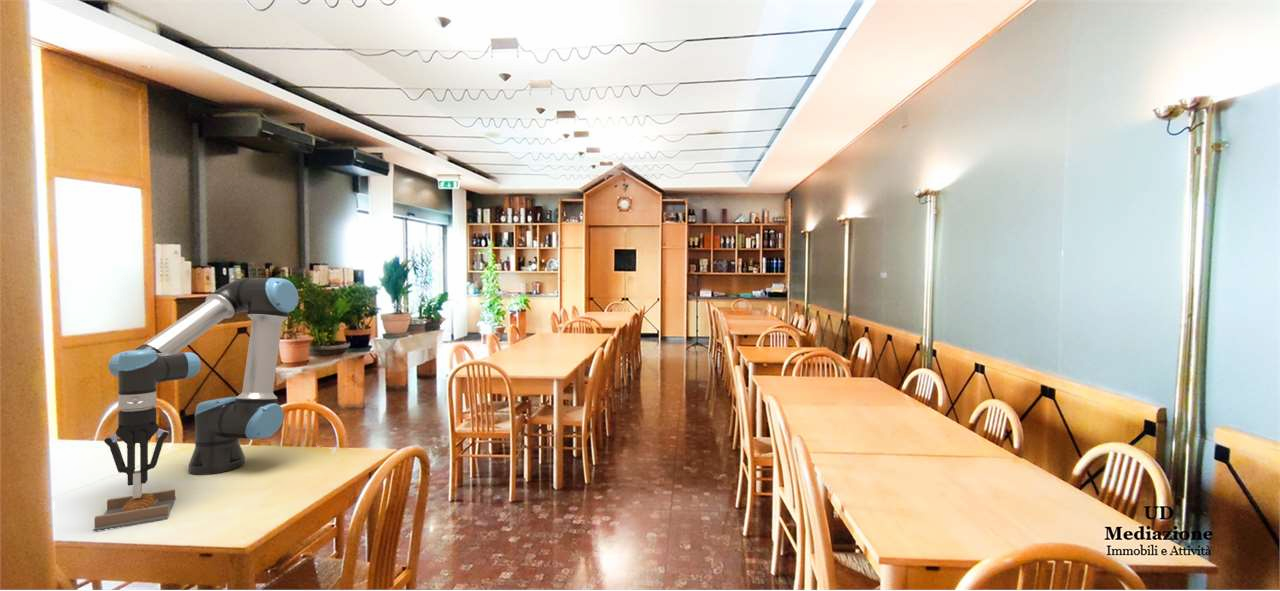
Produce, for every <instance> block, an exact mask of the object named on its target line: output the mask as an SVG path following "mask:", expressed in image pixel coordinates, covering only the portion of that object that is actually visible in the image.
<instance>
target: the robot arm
mask: <svg viewBox="0 0 1280 591" xmlns="http://www.w3.org/2000/svg"><path fill="white" fill-rule="evenodd" d="M298 304H299V293H298V289H297V288H296V287H295V285H294V283H293V282H291V281H290V280H289V279H286V278H280V277H279V278H278V277H244V278H243V277H242V278H239V279H237V280H233V281H231V282H229V283H226V284H225V285H223V286H221V287H219V288H218V289H216V290H214V291H213V292H212V293H210V294H209V295H207V296H206V298H205V302H203V303H201V304H200V305H198V306H197V307H195V308H194V309H193V310H191V311H190V312H188V313H186V314H185V315H184V316H182V317H181V318H179V319H178V320H176V321H174V322H173V323H172V324H169V326H168V327H166V328H164V329H163V330H162V331H160V332H158V333H157V334H156V335H154V336H153V337H151V338H150V339H149V340H147V341H146V342H144V343H142V344H141V345H139V346H138V347H137V348H135V349H133V350H125V351H122V352H118V353H116V354H115V355H113V356H111V358H110V360H109V362H108V370H109V371H108V372H110V374H111V375H112V376H114V377H116V378H118V379H117V380H118V381H117V383H118V386H117V387H118V399H117V400H118V408H117V409H119V411H118V414H117V415H118V419H117V422H118V426H117V428H116V430H115V433H113V434H112V435H109V436H107V437H106V438H104V441H103V442H104V443H105V445H107V446H108V447H109V449H110V452H111V455H112V459H113V462H114V464H115V468H116V470H117V472H118V473H121V474H122V473H123V474H126V475H127V485H128V486H129V487H130V486H132V496H133V498H139V497H141V495H142V493H143V484H146V483H147V482H148V477H149V476H148V472H149V470H152V469H155V468H156V466H157V464H158V460H159V457H160V454H161V451H162V449H163V445H164V441H165V439H166V438H167V437H168V436H169V434H170V430H167V429H165V430H164V429H162V428H160V427H159V424H158V423H157V407H155V406H157V384H160V383H165V382H173V381H179V380H186V379H189V378H194V377H195V376H197V375H198V374H199V373H200V370H201V368H202V365H201V363H202V362H201V358H200V357H199V355H197V354H196V353H194V352H189V351H188V352H181V351H182V350H184V348H186V347H187V346H188V345H190V344H192V343H193V342H194V341H195V340H196V339H197V340H198V338H199V337H201V336H202V335H203V334H205V333H206V332H208V331H209V330H211V329H212V328H213V327H215V326H216V325H217V324H219V323H220V322H221V321H223V320H224V319H231V318H232V317H233V316H235V315H237V314H239V313H244V312H247V314H246V315H247V317H248V318H249V319H250V320H251V327H250V333H249V340H248V349H247V356H246V362H245V363H246V364H245V369H244V376H243V383H242V384H243V385H242V392H241V393H240V394H238V396H229V397H221V398H214V399H209V400H206V401H201V402H199V403H198V404H196V407H195V412H194V431H195V432H194V435H195V437H194V440H195V441H194V442H195V444H194V449H193V452H192V456H191V457H190V460H189V463H188V466H187V467H188V470H187V471H188V474H191V475H212V474H220V473H224V472H225V471H226V472H228V471H229V470H230V471H233V470H236V469H239V468H241V467H243V466H244V465H245V464H246V456H245V454H244V452H243V448H242V447H241V444H240V439H247V440H250V441H251V440H252V441H253V440H264V439H268V438H270V437H271V436H273V435H274V434H275V433H276V432H277V431H278V430H279V429H280V428H281V425H282V424H283V421H284V416H285V413H284V410H283V407H282V406H281V405H280V404H278V396H277V395H275V393H274V387H275V380H276V372H277V364H278V356H279V348H280V341H281V334H282V326H283V323H284V322H285V321H287V320H288V319H289V313H291V312H293V311H294V310H295V309H296V308H297V307H298ZM155 434H156V438H157V441H156V444H155V447H154V450H153V452H152V457H151V459H150V462H149V454H148V453H149V441H150V440H151V439H152V437H153V436H154V435H155ZM119 439H120V440H121V441H123V442H124V443H125V444H126V450H127V451H126V454H127V455H126V458H127V459H126V464H125V461H124V458H123V454H122V452H121V449H120V446H119V443H118V441H119ZM136 444H139V448H140V449H139V450H140V451H139V456H140V457H139V458H140V459H139V460H140V461H139V462H140V465H139V468H140V469H139V470H136ZM243 464H244V465H243ZM242 465H243V466H242ZM240 466H241V467H240ZM238 467H239V468H238ZM235 468H236V469H235ZM232 469H233V470H232Z"/></svg>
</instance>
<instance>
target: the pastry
mask: <svg viewBox="0 0 1280 591" xmlns="http://www.w3.org/2000/svg"><path fill="white" fill-rule="evenodd" d="M150 493H151V492H145V493H144V492H142V495H141V497H139V498H131V499H130V500H129V501H128V502H126V504H125V505H124V506H123V508H122V512H125V511H131V510H137V509H143V508H149V507H156V504H157V503H158V500H157V499H156V497H154V496H153V495H152V494H150Z"/></svg>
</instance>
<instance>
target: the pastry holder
mask: <svg viewBox="0 0 1280 591" xmlns="http://www.w3.org/2000/svg"><path fill="white" fill-rule="evenodd" d="M149 493H150V494H152V495H153V496H154V497H156V499H157V500H158V503H157V504H156V507H149V508H143V509H137V510H131V511H125V512H122V508H123V506H124V505H125V504H126V502H128V501H129V500H130V499H131V498H133V495H129V496H128V495H127V496H122V497H114V498H109V499H107V500H106V511H105V512H104V513H103V514H102V515H96V516H95V517H94V528H93V530H92V532H93V531H97V532H99V531H98V530H103V531H106V530H105V529H108V530H111V529H110V528H114V529H118V528H117V527H120V528H125V527H124V526H126V527H129V526H130V527H131V526H135V525H142V524H146V523H148V522H149V523H153V521H154V522H159V521H158V520H160V521H164V520H163V519H166V520H168V519H167V518H169V516H170V514H169V513H171V512H170V511H172V509H173V507H174V505H175V502H176V500H177V497H176V489H175V488H174V489H167V490H163V491H162V490H160V491H153V492H149ZM174 501H175V502H174ZM172 506H173V507H172ZM149 523H148V524H149ZM122 526H123V527H122Z"/></svg>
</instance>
